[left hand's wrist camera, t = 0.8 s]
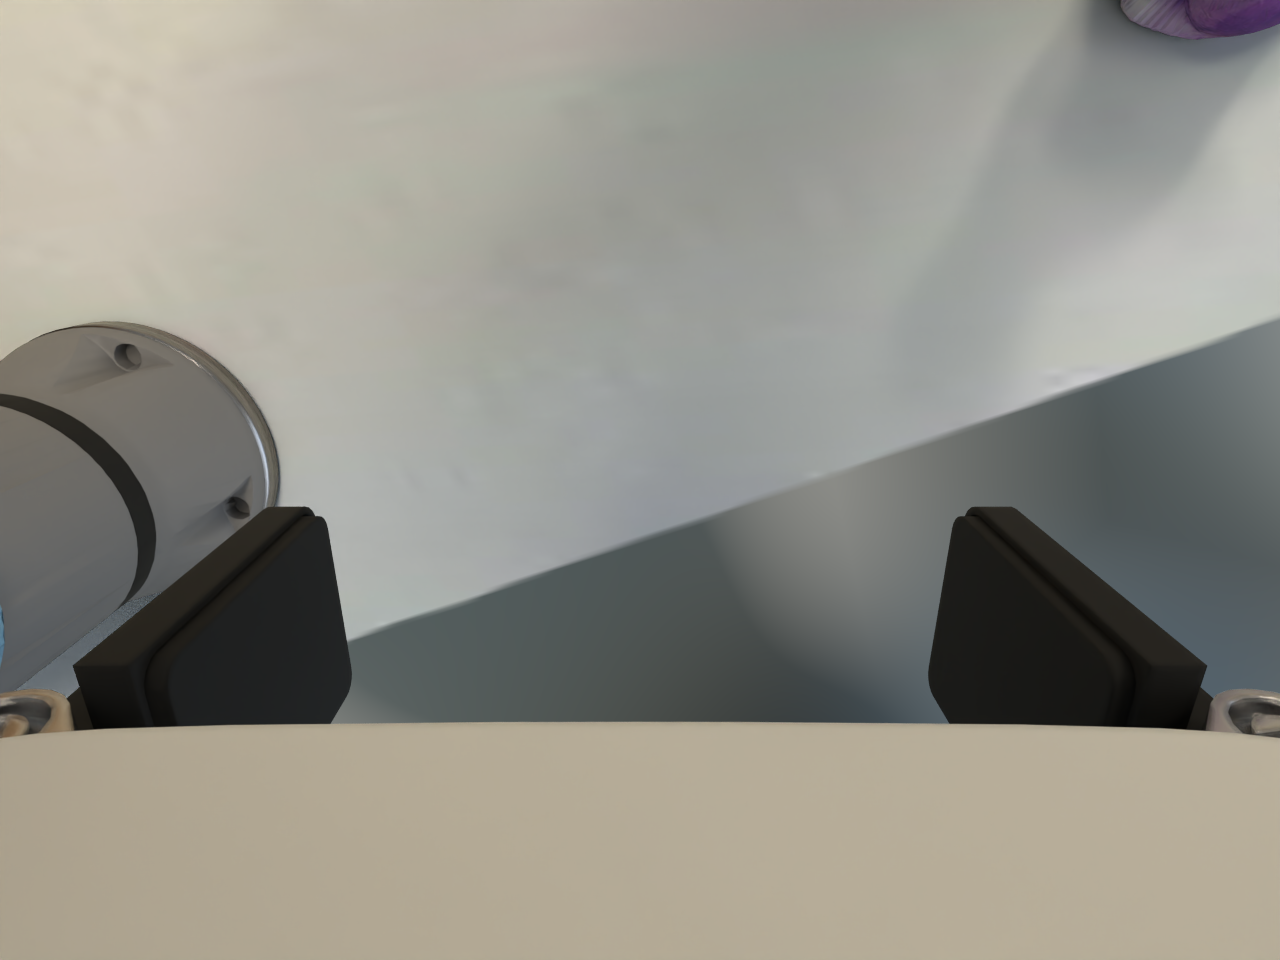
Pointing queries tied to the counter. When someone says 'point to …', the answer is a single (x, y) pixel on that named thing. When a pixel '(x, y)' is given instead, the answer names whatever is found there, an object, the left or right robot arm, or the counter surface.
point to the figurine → (1203, 16)
